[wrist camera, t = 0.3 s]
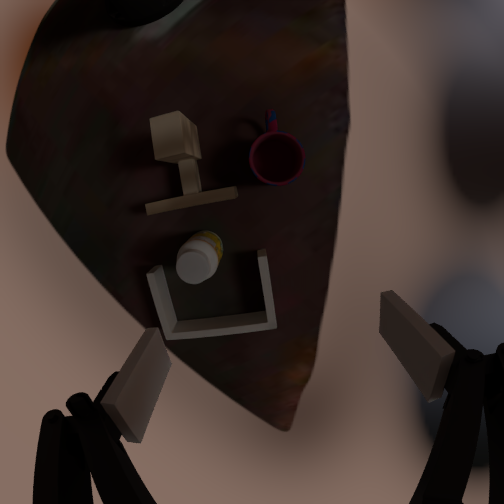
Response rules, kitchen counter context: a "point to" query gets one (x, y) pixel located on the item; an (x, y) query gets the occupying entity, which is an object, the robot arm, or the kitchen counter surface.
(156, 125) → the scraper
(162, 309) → the corral
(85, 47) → the kitchen counter surface
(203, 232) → the supplement bottle
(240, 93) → the kitchen counter surface
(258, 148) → the mug
